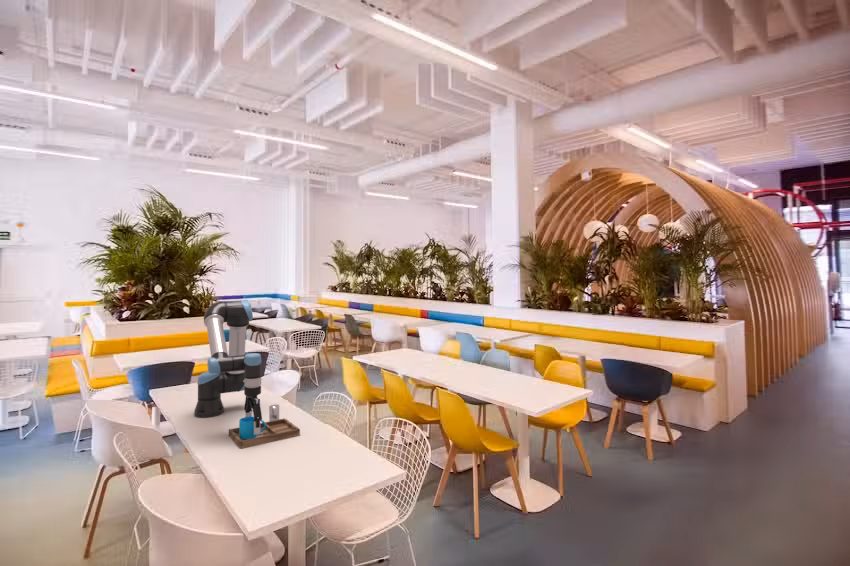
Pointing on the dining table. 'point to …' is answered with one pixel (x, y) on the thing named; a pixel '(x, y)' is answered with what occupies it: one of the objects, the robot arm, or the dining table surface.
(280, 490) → the dining table surface
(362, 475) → the dining table surface
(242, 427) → the mug
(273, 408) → the clear rounded cylinder
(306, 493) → the dining table surface
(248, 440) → the tray
